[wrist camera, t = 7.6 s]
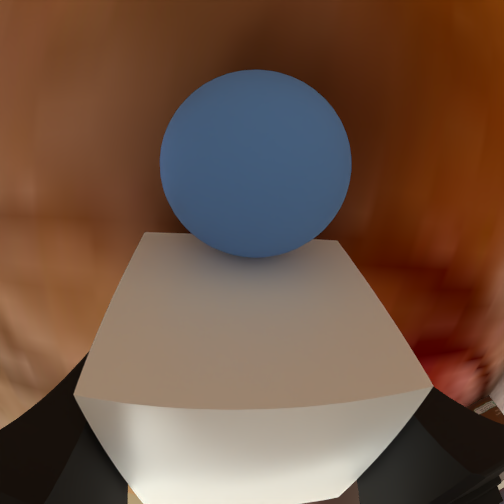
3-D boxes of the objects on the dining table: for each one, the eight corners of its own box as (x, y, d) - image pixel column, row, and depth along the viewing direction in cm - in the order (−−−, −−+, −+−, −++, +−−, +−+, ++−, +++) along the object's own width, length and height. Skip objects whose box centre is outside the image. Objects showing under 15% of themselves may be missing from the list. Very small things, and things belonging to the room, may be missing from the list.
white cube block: (159, 367, 13) (142, 503, 7) (144, 232, 10) (73, 394, 4) (303, 369, 13) (338, 497, 8) (337, 240, 10) (433, 386, 5)
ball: (146, 294, 7) (144, 55, 4) (171, 209, 11) (178, 69, 9) (354, 298, 8) (407, 93, 5) (305, 216, 12) (327, 85, 9)
